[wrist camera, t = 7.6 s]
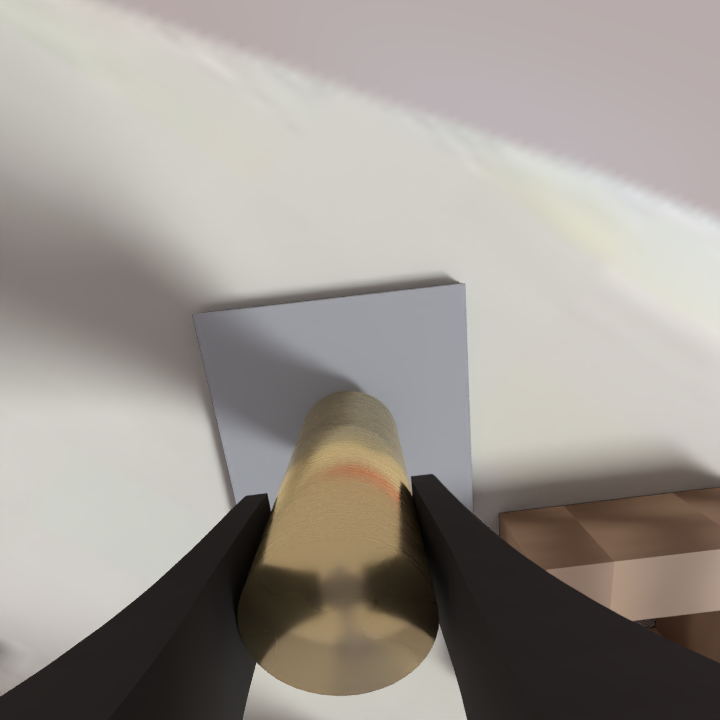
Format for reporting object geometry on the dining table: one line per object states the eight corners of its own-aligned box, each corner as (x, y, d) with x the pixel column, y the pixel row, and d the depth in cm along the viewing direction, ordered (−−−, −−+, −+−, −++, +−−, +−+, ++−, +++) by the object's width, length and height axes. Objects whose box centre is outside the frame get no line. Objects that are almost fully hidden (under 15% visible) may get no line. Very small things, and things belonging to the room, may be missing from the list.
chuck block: (501, 687, 21) (531, 769, 17) (499, 513, 18) (534, 571, 14) (704, 663, 21) (773, 740, 17) (736, 485, 18) (827, 536, 14)
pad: (248, 534, 18) (245, 543, 17) (198, 313, 15) (192, 315, 14) (469, 508, 18) (473, 516, 17) (460, 282, 15) (465, 283, 14)
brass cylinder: (313, 485, 15) (266, 707, 8) (291, 400, 14) (212, 556, 7) (404, 470, 15) (451, 681, 7) (389, 382, 14) (423, 522, 6)
